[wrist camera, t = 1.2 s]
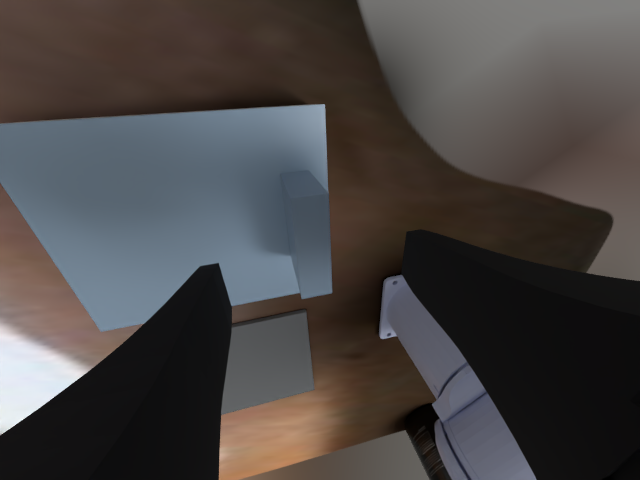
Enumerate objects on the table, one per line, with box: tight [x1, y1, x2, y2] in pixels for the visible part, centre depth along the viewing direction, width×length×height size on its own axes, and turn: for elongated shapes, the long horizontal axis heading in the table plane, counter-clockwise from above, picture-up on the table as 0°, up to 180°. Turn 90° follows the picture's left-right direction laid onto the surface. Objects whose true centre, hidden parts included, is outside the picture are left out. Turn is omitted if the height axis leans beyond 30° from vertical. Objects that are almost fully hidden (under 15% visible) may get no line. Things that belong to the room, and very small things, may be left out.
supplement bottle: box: [405, 404, 452, 480], centre depth 34 cm, size 7×7×12 cm
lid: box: [0, 104, 332, 332], centre depth 12 cm, size 14×11×6 cm
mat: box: [221, 309, 314, 415], centre depth 25 cm, size 15×12×1 cm
